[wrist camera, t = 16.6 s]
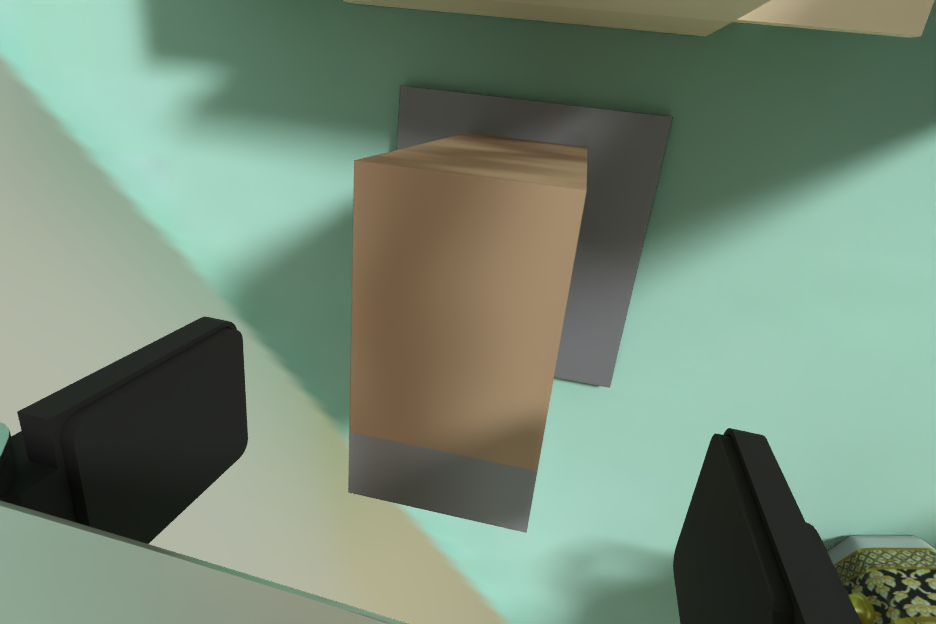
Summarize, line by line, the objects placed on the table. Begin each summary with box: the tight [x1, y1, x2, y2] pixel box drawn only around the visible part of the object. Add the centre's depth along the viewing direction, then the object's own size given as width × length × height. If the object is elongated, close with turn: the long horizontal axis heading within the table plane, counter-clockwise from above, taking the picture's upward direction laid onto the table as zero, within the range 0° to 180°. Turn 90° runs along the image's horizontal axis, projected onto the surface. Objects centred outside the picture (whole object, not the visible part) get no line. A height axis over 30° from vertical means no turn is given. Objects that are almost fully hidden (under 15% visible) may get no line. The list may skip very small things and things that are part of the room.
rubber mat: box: [397, 86, 673, 388], centre depth 24 cm, size 11×12×1 cm
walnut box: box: [348, 133, 588, 532], centre depth 19 cm, size 5×9×12 cm, turn 175°
